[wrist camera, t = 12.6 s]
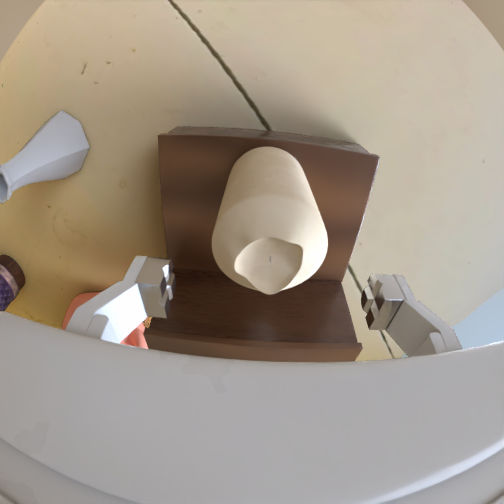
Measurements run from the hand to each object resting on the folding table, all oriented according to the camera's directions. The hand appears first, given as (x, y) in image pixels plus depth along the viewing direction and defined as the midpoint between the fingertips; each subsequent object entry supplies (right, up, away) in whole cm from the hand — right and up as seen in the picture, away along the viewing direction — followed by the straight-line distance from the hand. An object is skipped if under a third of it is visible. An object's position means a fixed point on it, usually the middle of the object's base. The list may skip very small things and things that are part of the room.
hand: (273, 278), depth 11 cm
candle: (0, +6, +9) cm, 11 cm away
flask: (-20, +12, +11) cm, 26 cm away
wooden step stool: (0, +4, +16) cm, 16 cm away
